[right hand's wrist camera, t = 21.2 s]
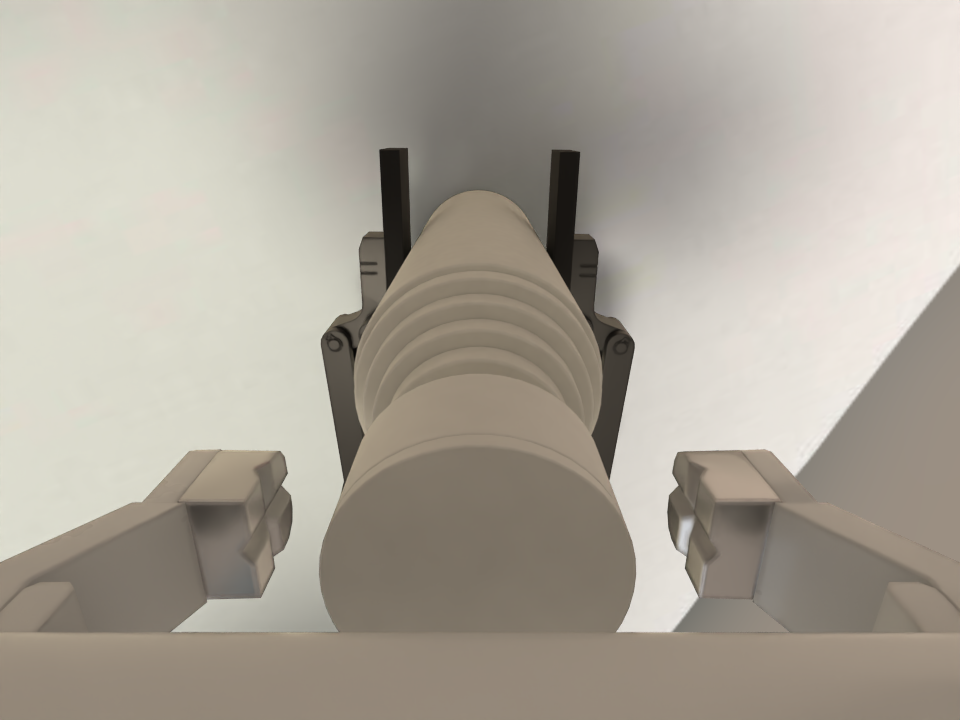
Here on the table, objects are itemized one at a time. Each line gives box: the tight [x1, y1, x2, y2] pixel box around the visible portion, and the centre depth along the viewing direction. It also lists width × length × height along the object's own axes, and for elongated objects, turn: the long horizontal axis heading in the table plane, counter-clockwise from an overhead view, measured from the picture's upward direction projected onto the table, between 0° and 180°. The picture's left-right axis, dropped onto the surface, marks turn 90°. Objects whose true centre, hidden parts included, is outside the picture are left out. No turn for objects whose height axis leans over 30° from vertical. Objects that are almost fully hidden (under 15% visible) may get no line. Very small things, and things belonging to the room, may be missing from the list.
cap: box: [319, 374, 636, 632], centre depth 9 cm, size 4×4×2 cm
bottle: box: [354, 190, 603, 435], centre depth 20 cm, size 6×6×24 cm
